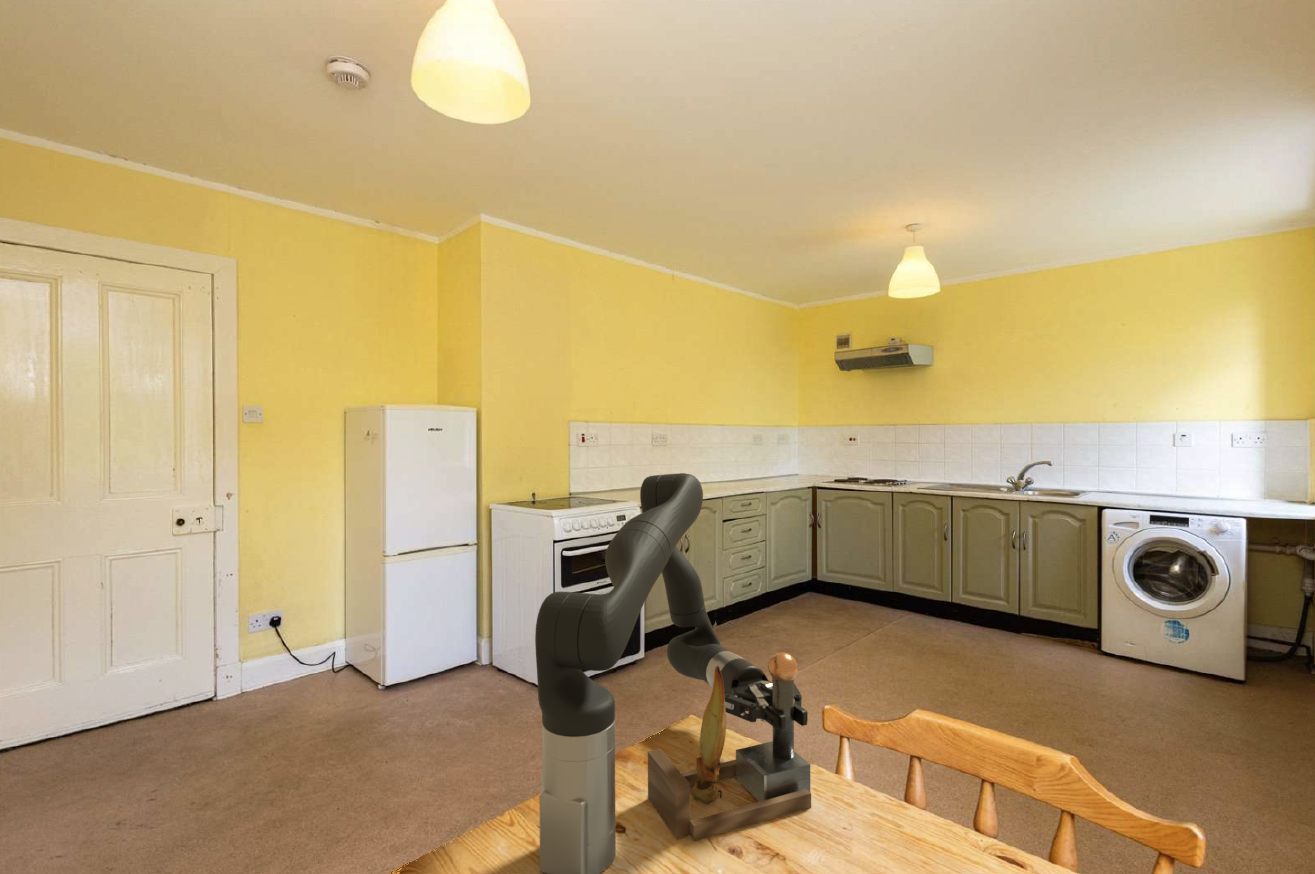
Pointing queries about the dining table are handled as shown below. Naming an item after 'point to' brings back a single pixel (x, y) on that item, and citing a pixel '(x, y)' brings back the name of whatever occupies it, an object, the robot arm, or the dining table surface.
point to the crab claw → (711, 744)
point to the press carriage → (776, 743)
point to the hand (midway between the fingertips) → (794, 721)
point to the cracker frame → (674, 809)
